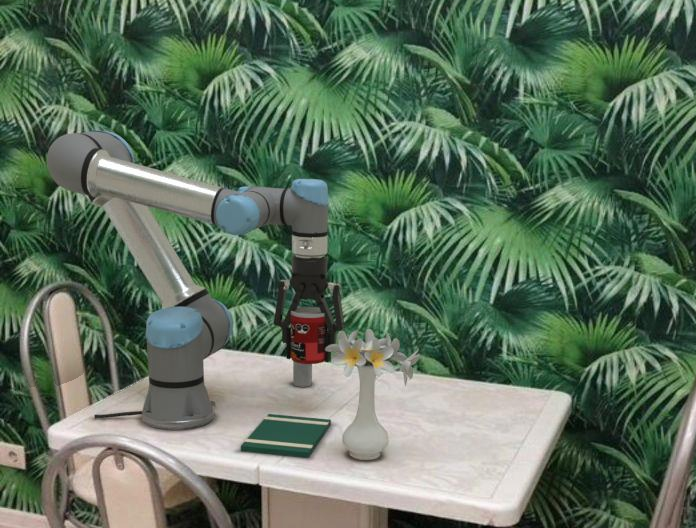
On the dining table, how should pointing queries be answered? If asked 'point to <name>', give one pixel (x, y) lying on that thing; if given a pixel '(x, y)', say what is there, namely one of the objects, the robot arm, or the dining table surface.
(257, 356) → the dining table surface
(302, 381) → the grey cylinder
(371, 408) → the flower vase
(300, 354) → the canned food
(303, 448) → the towel
